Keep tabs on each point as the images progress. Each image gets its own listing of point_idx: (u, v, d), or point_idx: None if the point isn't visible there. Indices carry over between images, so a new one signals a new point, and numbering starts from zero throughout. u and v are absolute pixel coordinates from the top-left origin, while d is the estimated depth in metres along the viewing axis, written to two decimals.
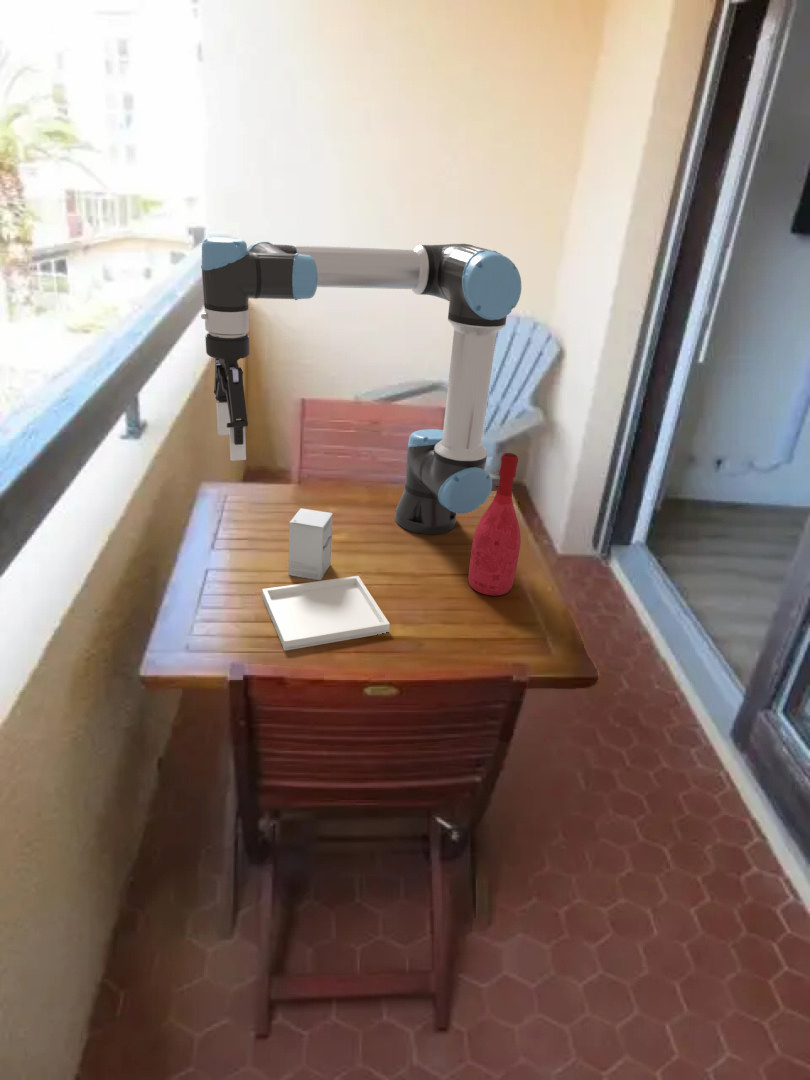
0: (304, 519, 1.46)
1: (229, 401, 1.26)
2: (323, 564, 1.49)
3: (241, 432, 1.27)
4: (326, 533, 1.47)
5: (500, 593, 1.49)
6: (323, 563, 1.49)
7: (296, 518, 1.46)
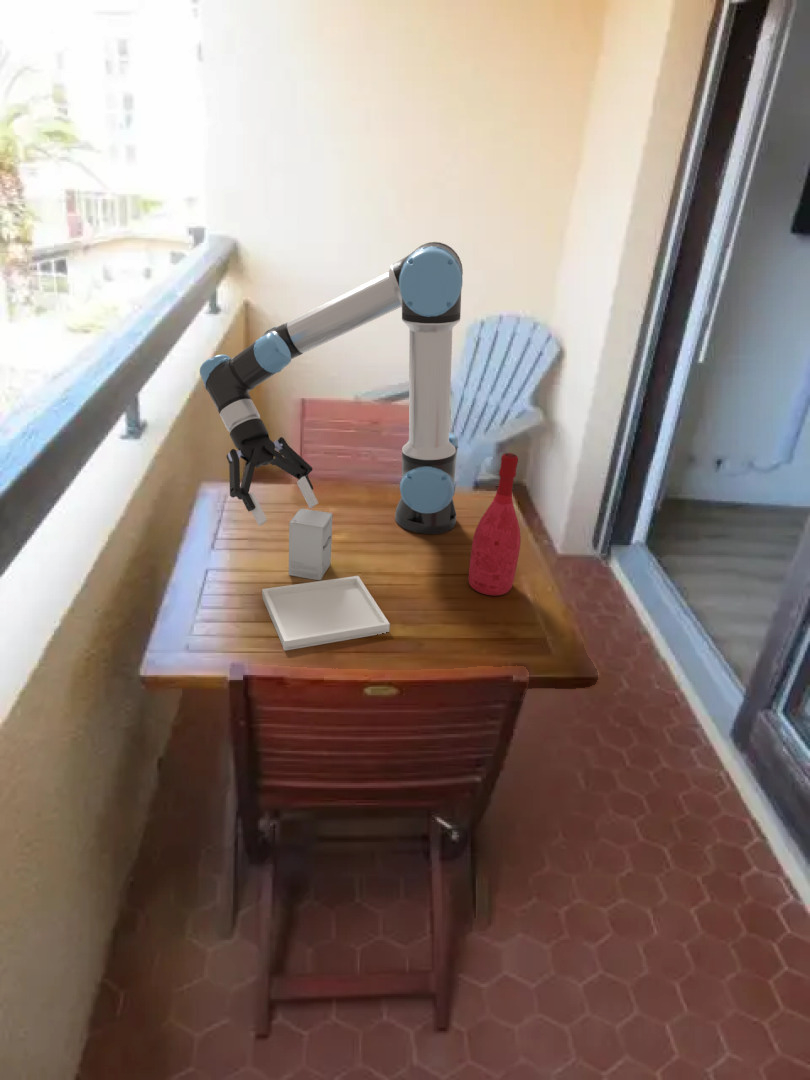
0: (303, 519, 1.46)
1: (243, 477, 1.48)
2: (323, 564, 1.49)
3: (245, 499, 1.45)
4: (326, 533, 1.47)
5: (500, 593, 1.49)
6: (323, 563, 1.49)
7: (296, 518, 1.46)
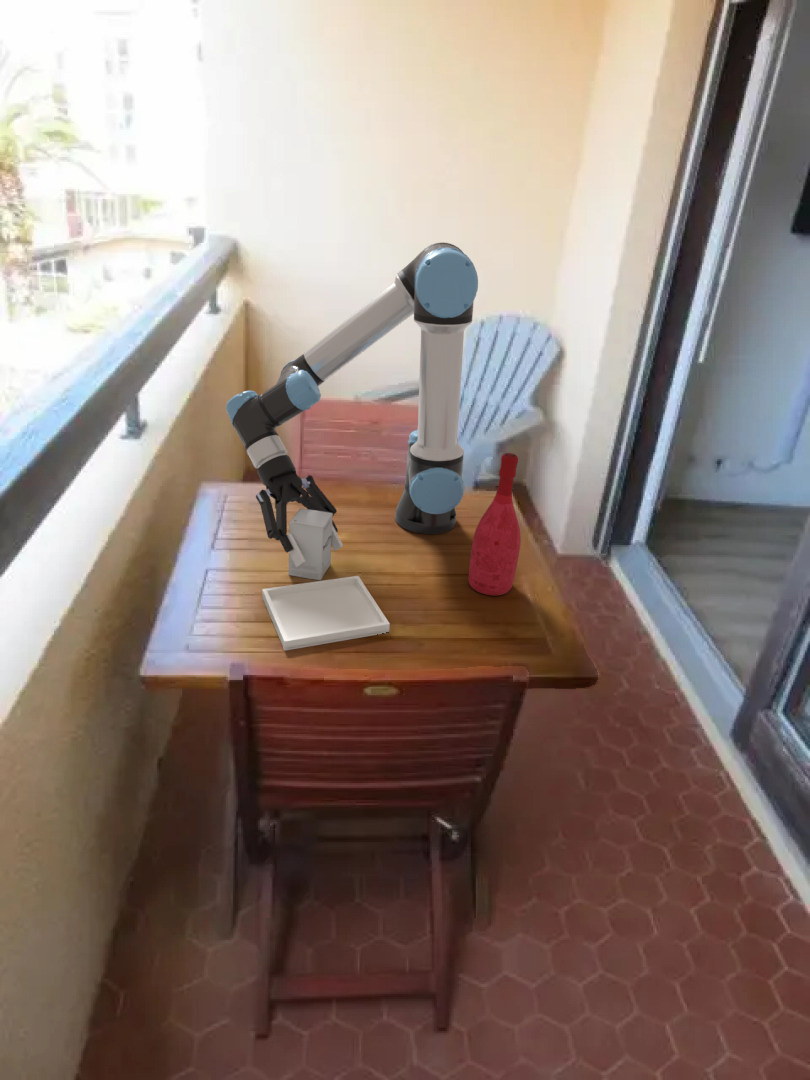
0: (304, 519, 1.46)
1: (276, 517, 1.47)
2: (323, 564, 1.49)
3: (283, 540, 1.44)
4: (326, 533, 1.47)
5: (500, 593, 1.49)
6: (323, 563, 1.49)
7: (296, 518, 1.46)
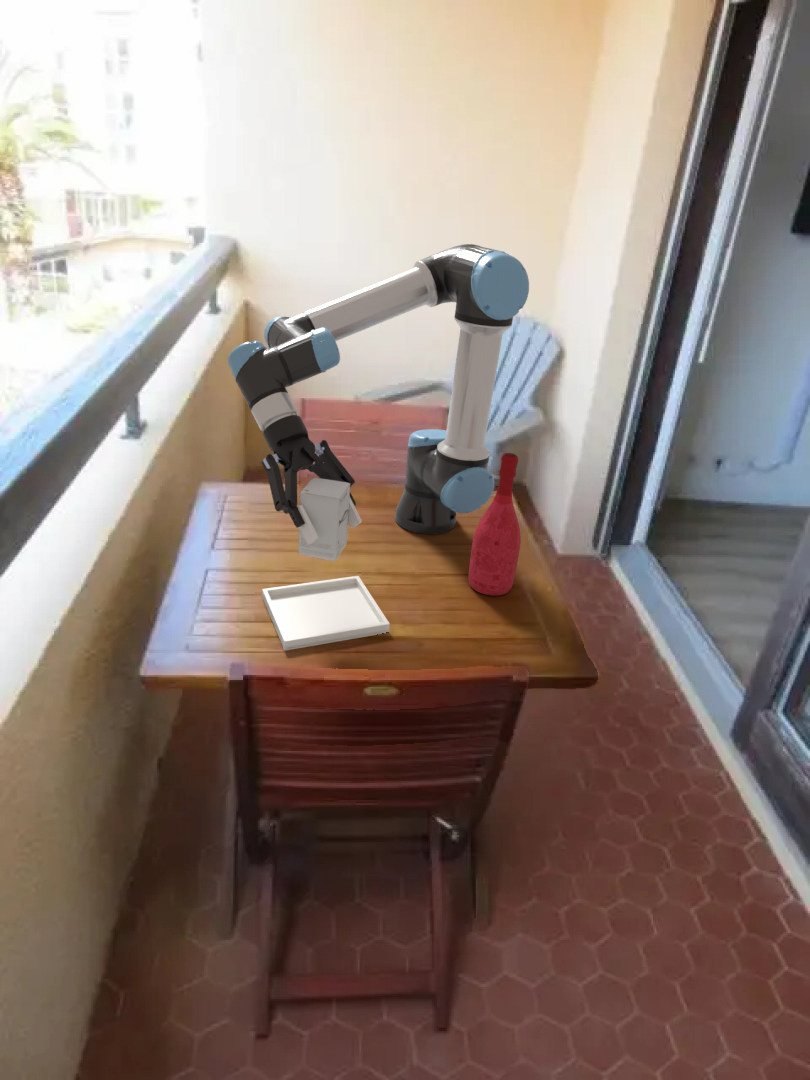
0: (317, 489, 1.25)
1: (285, 487, 1.27)
2: (339, 542, 1.28)
3: (293, 513, 1.24)
4: (343, 505, 1.26)
5: (500, 593, 1.49)
6: (339, 541, 1.28)
7: (308, 488, 1.25)
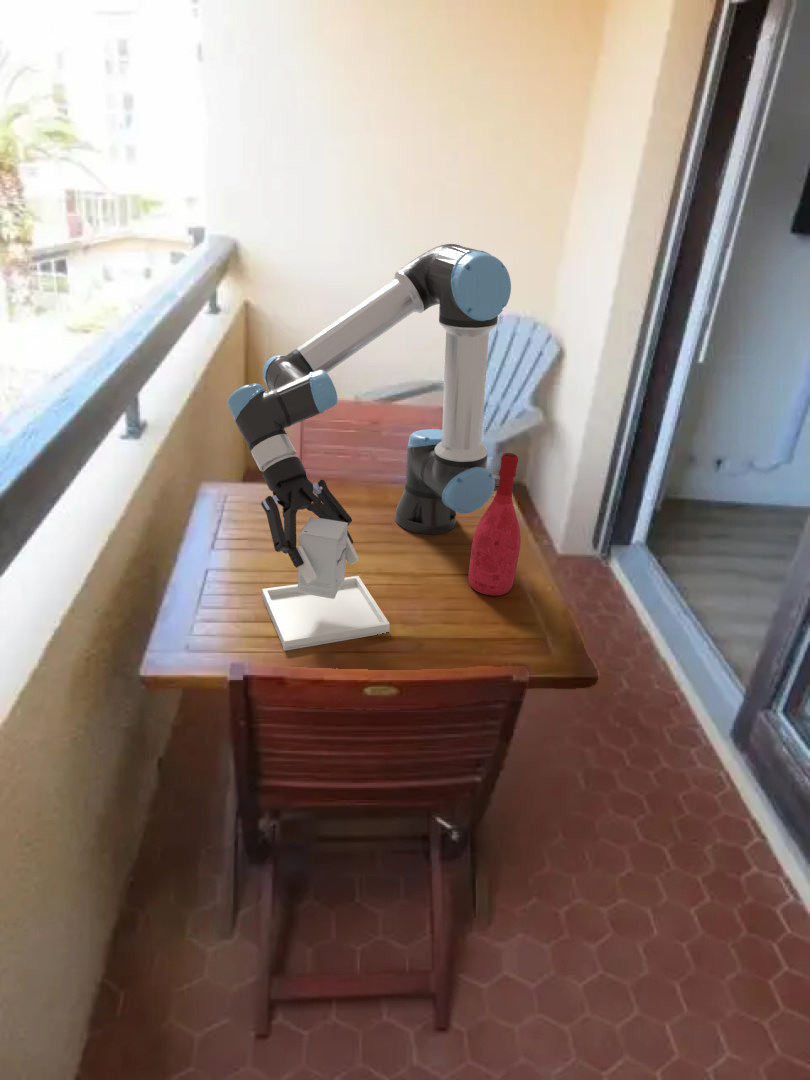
0: (315, 530, 1.28)
1: (284, 527, 1.30)
2: (337, 580, 1.31)
3: (292, 554, 1.27)
4: (341, 545, 1.29)
5: (500, 593, 1.49)
6: (337, 579, 1.31)
7: (307, 529, 1.28)
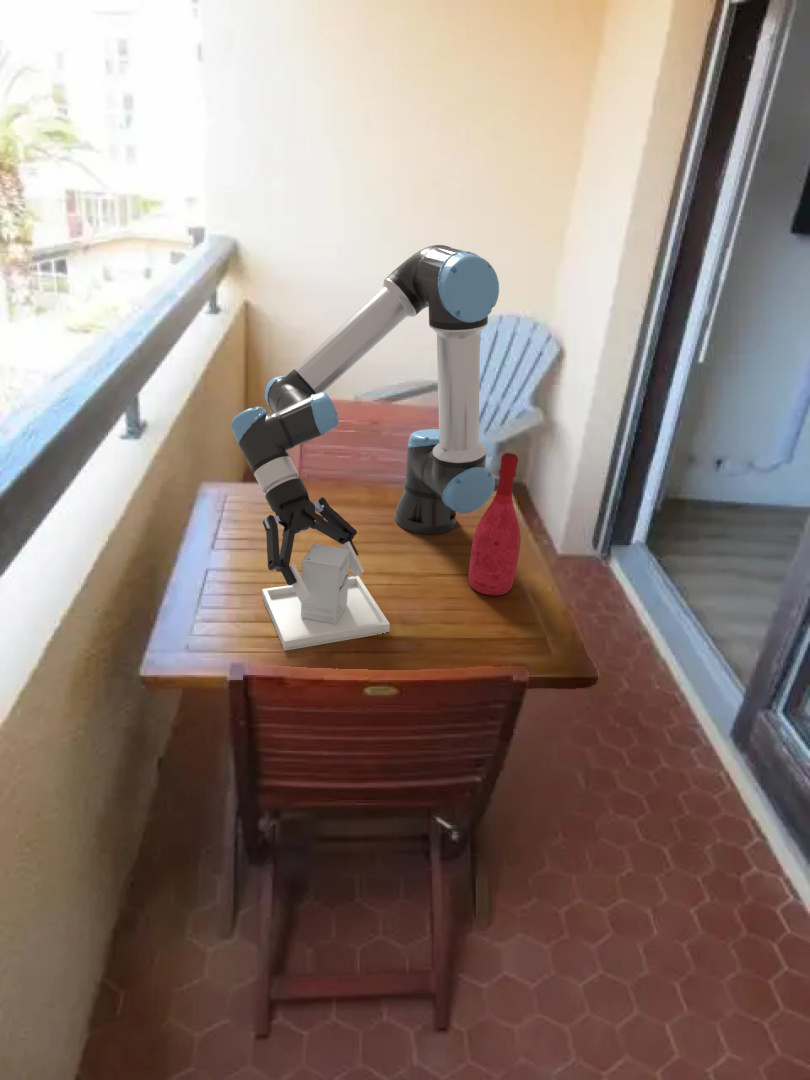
0: (318, 557, 1.31)
1: (281, 546, 1.31)
2: (339, 606, 1.34)
3: (285, 572, 1.28)
4: (343, 572, 1.32)
5: (500, 593, 1.49)
6: (339, 605, 1.34)
7: (310, 556, 1.31)
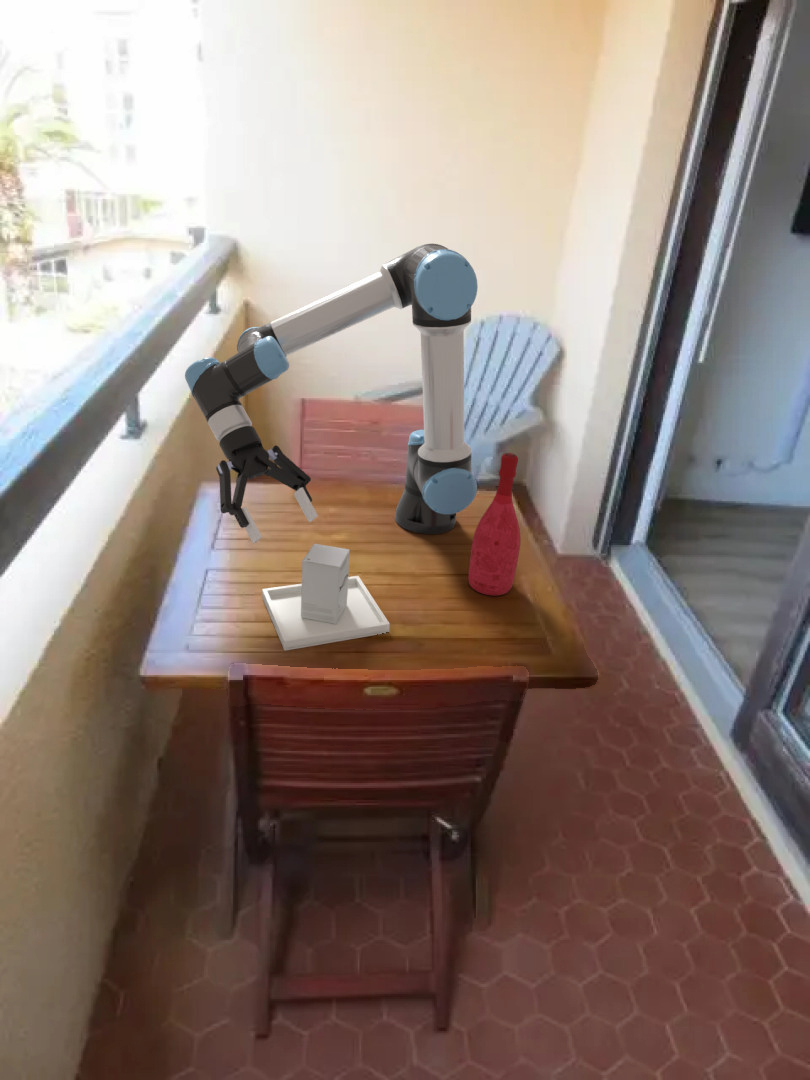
0: (318, 557, 1.31)
1: (234, 491, 1.36)
2: (339, 606, 1.34)
3: (237, 515, 1.32)
4: (343, 572, 1.32)
5: (500, 593, 1.49)
6: (339, 605, 1.34)
7: (310, 556, 1.31)
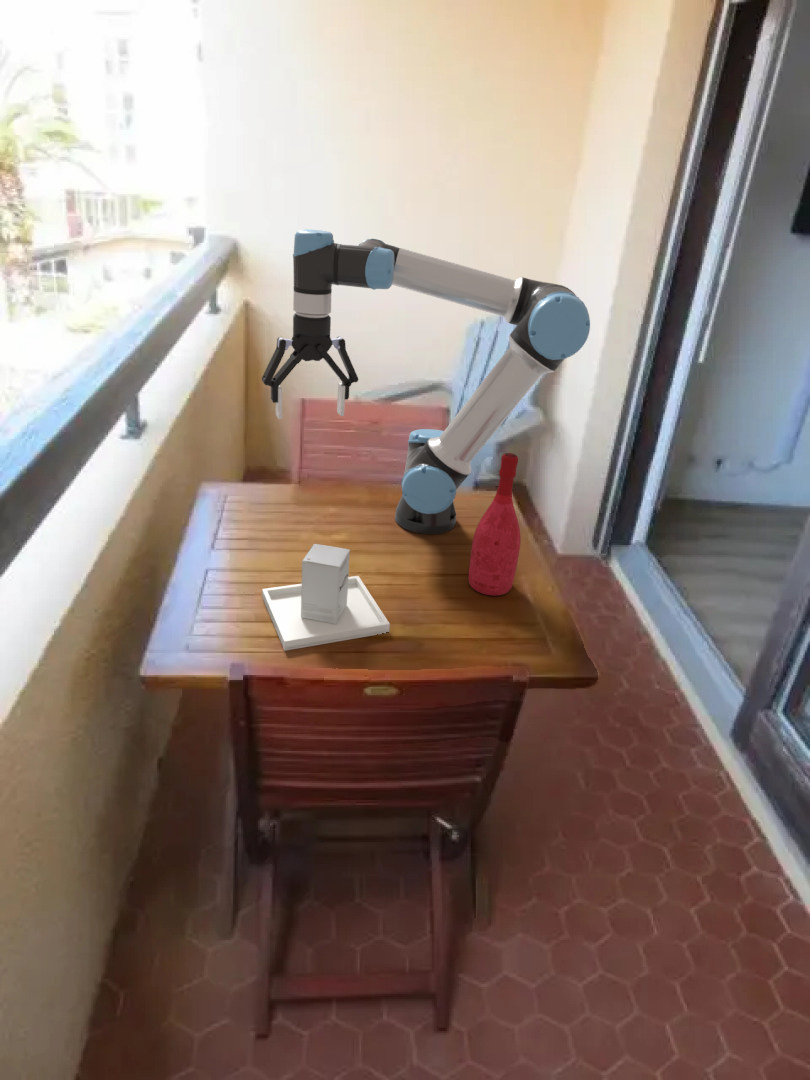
0: (318, 557, 1.31)
1: (283, 365, 1.48)
2: (339, 606, 1.34)
3: (272, 391, 1.48)
4: (343, 572, 1.32)
5: (500, 593, 1.49)
6: (339, 605, 1.34)
7: (310, 556, 1.31)
